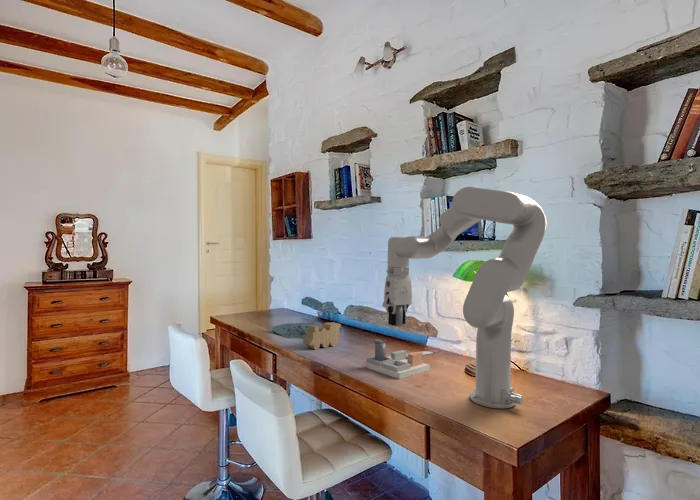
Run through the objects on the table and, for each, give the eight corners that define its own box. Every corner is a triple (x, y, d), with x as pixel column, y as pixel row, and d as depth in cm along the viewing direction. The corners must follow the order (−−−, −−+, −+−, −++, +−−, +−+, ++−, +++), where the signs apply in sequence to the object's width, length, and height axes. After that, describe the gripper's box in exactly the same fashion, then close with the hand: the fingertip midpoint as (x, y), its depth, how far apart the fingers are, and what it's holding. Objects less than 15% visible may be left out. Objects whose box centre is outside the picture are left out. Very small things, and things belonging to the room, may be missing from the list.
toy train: (302, 348, 174) (303, 325, 174) (333, 343, 185) (333, 321, 185) (310, 351, 170) (310, 327, 170) (341, 345, 181) (341, 323, 181)
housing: (429, 370, 145) (430, 342, 145) (399, 379, 134) (400, 349, 134) (395, 360, 157) (395, 334, 157) (365, 367, 147) (365, 340, 147)
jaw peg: (404, 325, 140) (405, 302, 140) (397, 326, 137) (397, 303, 137) (394, 323, 144) (395, 301, 144) (387, 324, 141) (387, 301, 141)
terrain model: (268, 332, 208) (269, 323, 208) (313, 326, 226) (313, 317, 226) (294, 347, 188) (295, 337, 188) (341, 340, 206) (342, 330, 206)
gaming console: (424, 346, 180) (441, 351, 171) (424, 348, 180) (441, 352, 171) (386, 352, 167) (402, 358, 159) (386, 354, 167) (402, 360, 159)
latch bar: (422, 363, 145) (422, 352, 146) (412, 366, 142) (412, 355, 142) (417, 362, 147) (417, 351, 147) (407, 364, 144) (407, 353, 144)
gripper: (389, 273, 132) (387, 328, 132) (421, 272, 143) (420, 323, 143) (373, 272, 138) (372, 325, 138) (405, 271, 148) (404, 320, 148)
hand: (396, 323), depth 140 cm, fingers closed on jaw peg, 4 cm apart
